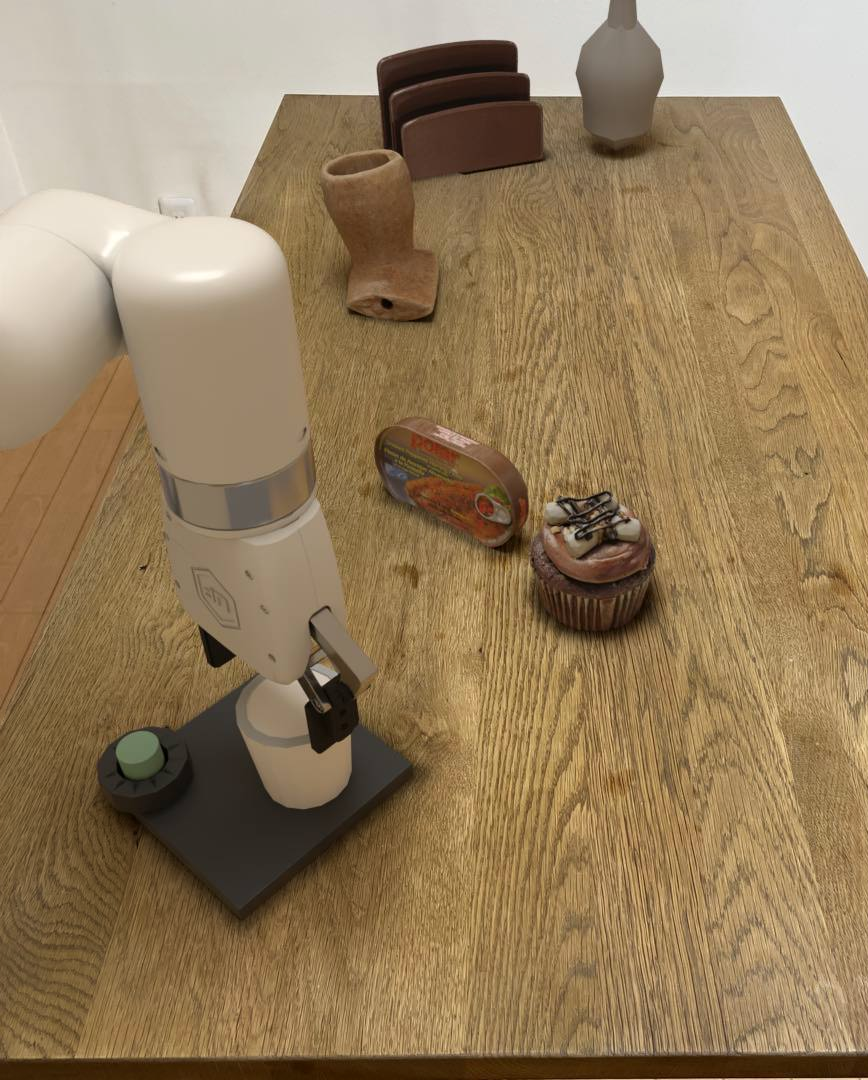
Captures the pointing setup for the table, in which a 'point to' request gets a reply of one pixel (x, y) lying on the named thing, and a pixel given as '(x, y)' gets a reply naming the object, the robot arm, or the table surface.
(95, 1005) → the table surface
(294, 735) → the white cup
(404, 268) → the clay boot vessel
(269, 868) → the scale
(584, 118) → the bottle
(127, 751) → the button
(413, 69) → the letter holder
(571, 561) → the cupcake
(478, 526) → the tin
